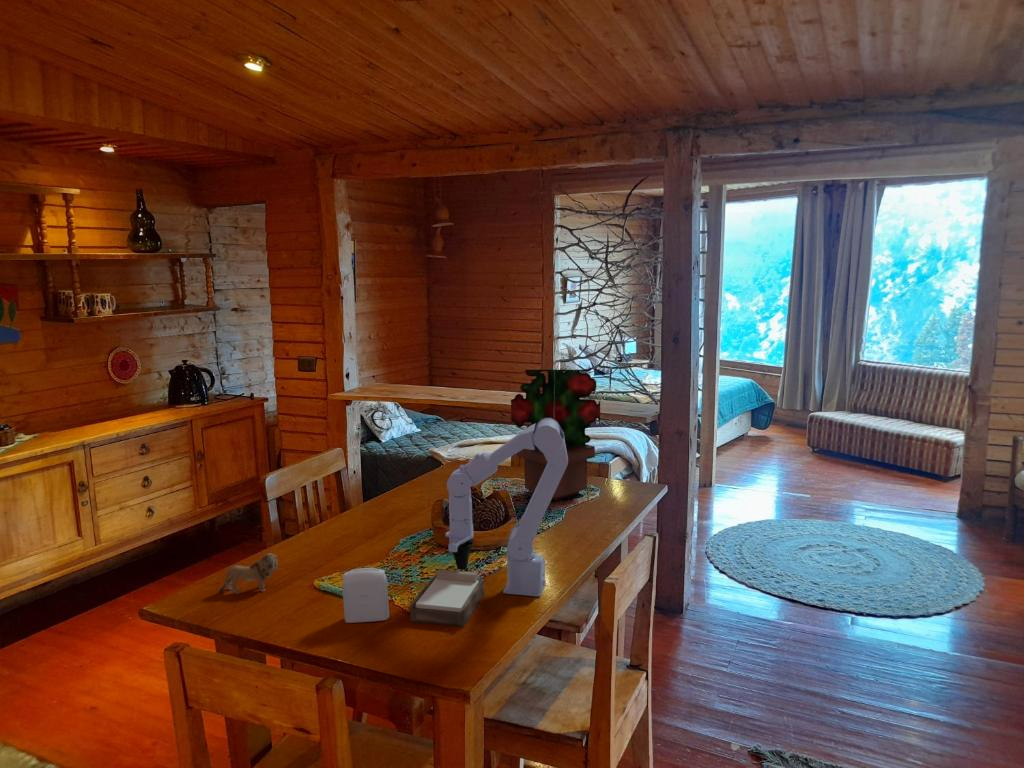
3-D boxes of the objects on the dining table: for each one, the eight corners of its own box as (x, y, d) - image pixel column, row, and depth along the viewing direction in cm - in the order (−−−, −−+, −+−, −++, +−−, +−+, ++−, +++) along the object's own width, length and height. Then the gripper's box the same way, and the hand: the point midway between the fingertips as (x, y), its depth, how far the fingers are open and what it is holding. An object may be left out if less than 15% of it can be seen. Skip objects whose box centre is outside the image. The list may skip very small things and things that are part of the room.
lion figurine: (279, 581, 191) (277, 549, 190) (279, 590, 186) (277, 556, 185) (219, 589, 187) (217, 556, 186) (217, 598, 182) (215, 564, 180)
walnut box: (435, 589, 185) (434, 574, 184) (484, 594, 182) (484, 579, 181) (410, 621, 169) (409, 605, 168) (464, 626, 166) (463, 610, 165)
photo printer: (343, 624, 168) (340, 574, 166) (345, 616, 172) (342, 566, 170) (388, 622, 169) (386, 571, 167) (389, 613, 173) (387, 564, 171)
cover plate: (437, 580, 183) (436, 569, 183) (479, 584, 181) (478, 572, 180) (415, 607, 169) (415, 595, 168) (461, 612, 166) (460, 599, 166)
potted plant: (557, 481, 276) (556, 363, 269) (599, 494, 259) (600, 369, 252) (512, 493, 262) (510, 369, 255) (554, 508, 246) (553, 376, 238)
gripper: (454, 506, 191) (455, 556, 193) (436, 526, 177) (437, 578, 179) (480, 508, 189) (481, 558, 192) (463, 528, 175) (465, 581, 178)
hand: (462, 568), depth 185 cm, fingers closed
